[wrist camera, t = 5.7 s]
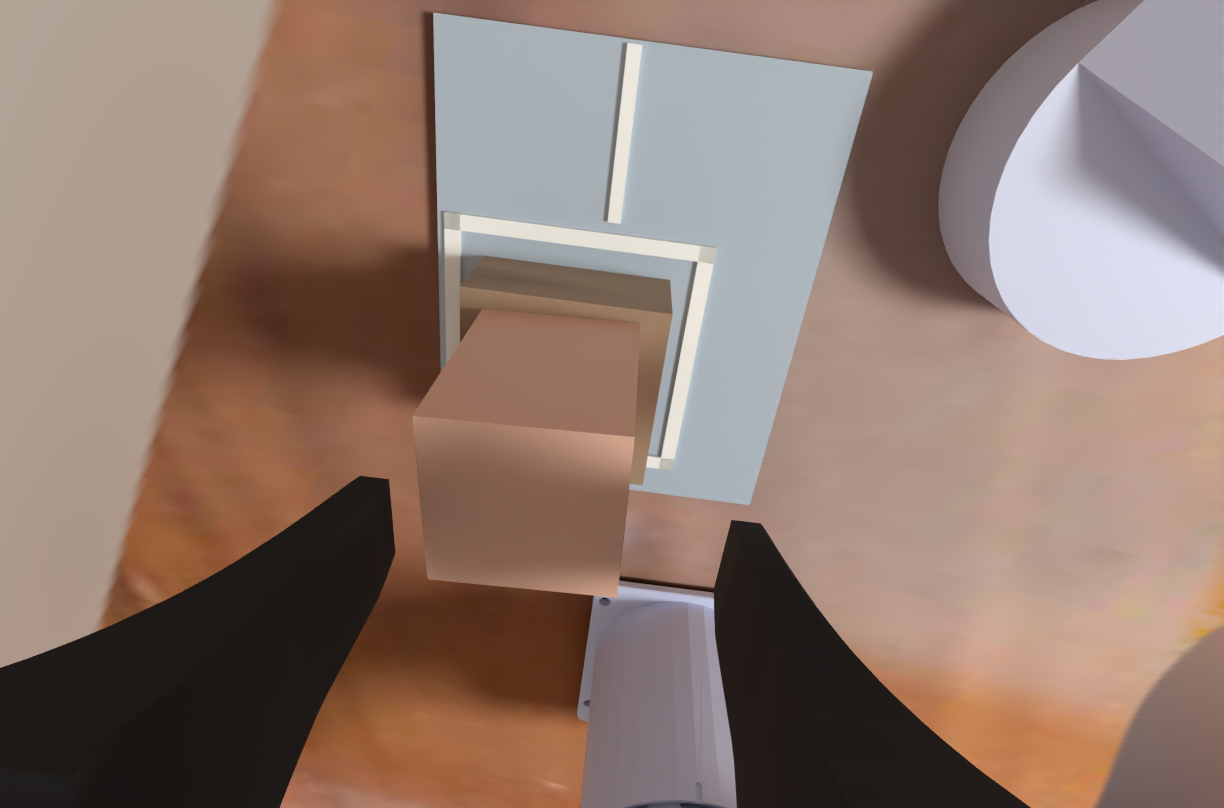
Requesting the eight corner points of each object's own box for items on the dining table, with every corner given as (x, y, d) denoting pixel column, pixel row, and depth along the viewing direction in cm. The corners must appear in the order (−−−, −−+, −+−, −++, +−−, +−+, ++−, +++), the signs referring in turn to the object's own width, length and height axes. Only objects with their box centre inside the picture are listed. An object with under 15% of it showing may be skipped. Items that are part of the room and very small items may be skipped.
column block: (626, 454, 20) (617, 598, 15) (486, 441, 20) (427, 579, 15) (640, 323, 18) (634, 436, 13) (482, 308, 18) (412, 415, 13)
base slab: (643, 436, 23) (642, 485, 21) (482, 415, 23) (460, 461, 21) (670, 280, 20) (672, 314, 18) (484, 255, 20) (459, 286, 18)
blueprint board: (748, 498, 25) (750, 507, 24) (445, 459, 25) (441, 467, 24) (868, 71, 17) (875, 71, 17) (437, 13, 17) (431, 12, 17)
